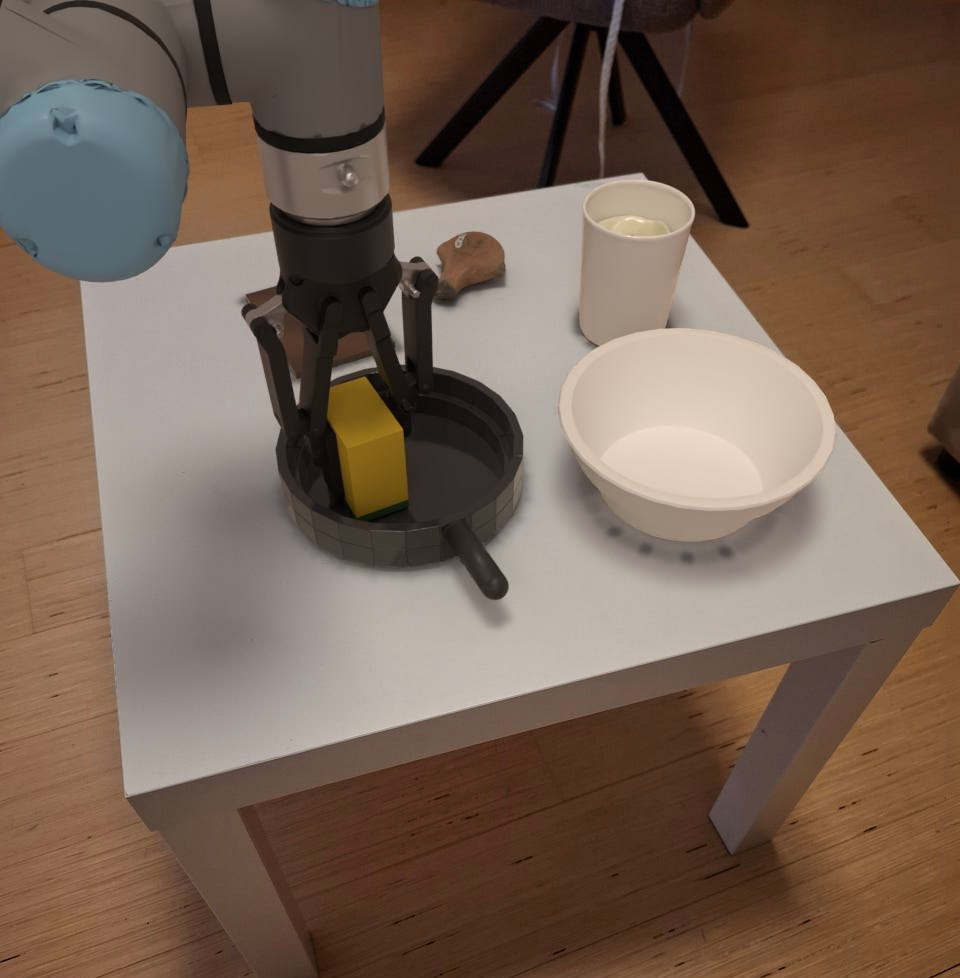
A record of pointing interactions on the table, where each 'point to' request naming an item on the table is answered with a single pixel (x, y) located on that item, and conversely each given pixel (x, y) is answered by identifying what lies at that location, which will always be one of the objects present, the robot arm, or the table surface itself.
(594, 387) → the bowl
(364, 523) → the pan
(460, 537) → the pan handle
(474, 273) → the oil lamp
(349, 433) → the sponge
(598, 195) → the candle holder
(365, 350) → the brown flat slab
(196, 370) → the table surface
